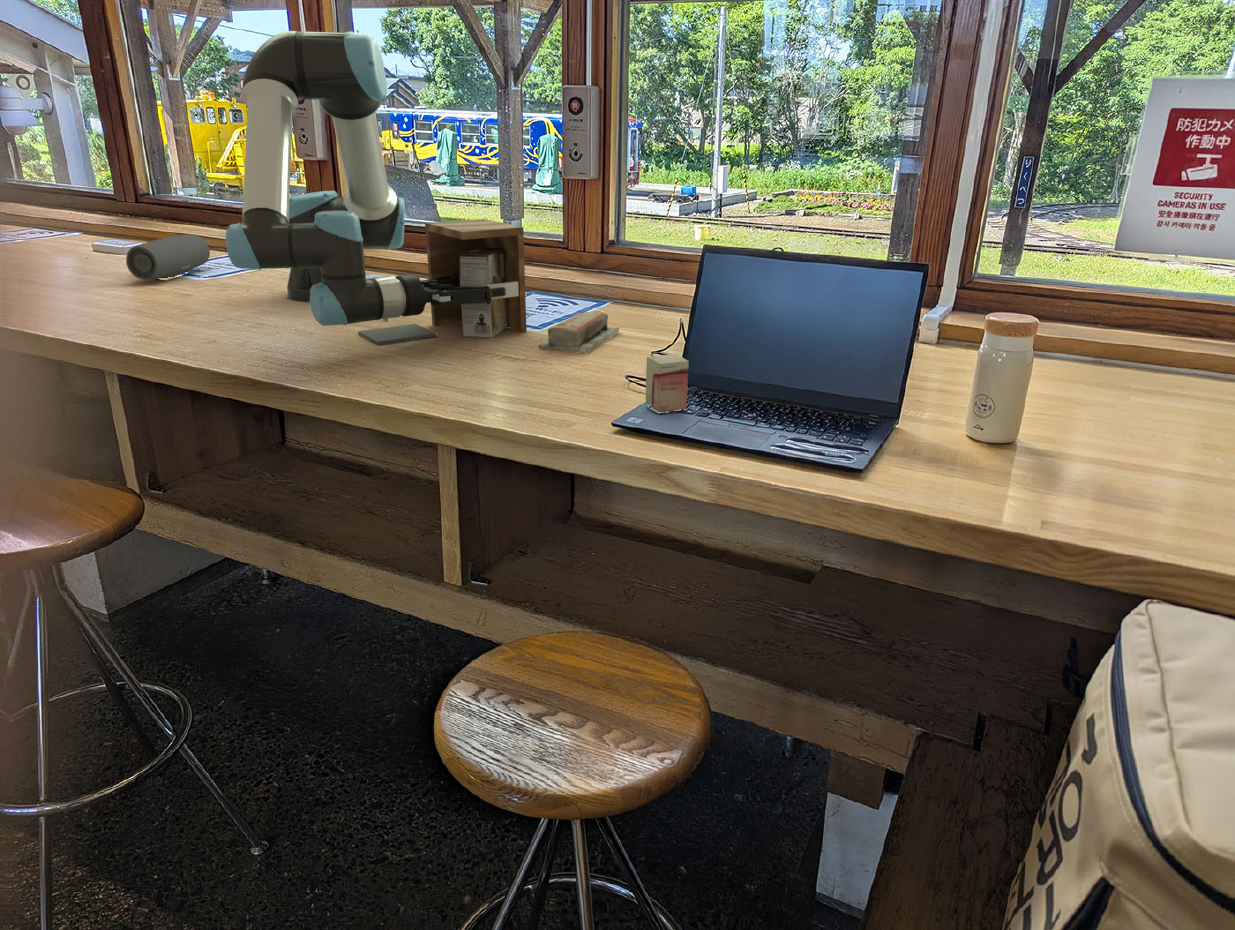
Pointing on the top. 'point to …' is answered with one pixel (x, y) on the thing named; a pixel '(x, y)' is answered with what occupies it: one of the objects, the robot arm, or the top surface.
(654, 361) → the small box
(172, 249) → the bluetooth speaker
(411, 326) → the mat
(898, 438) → the top surface
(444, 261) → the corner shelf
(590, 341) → the packaged product
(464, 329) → the coffee box
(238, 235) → the robot arm
